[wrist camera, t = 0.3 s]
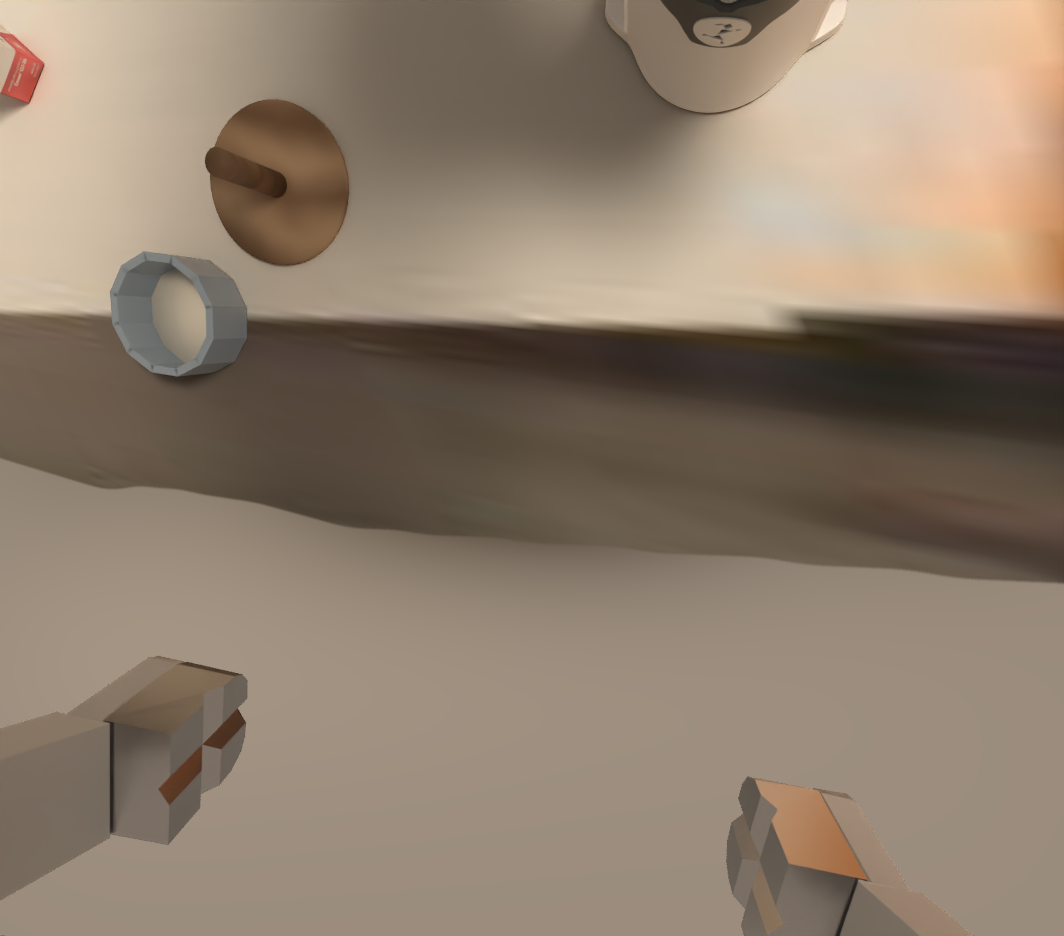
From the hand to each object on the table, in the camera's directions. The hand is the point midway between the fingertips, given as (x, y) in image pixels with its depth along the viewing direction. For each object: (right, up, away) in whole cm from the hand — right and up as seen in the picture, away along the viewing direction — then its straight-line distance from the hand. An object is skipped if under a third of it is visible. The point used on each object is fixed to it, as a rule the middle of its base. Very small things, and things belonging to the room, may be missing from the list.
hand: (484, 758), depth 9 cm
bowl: (-36, +21, +53) cm, 68 cm away
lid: (-25, +33, +48) cm, 63 cm away
